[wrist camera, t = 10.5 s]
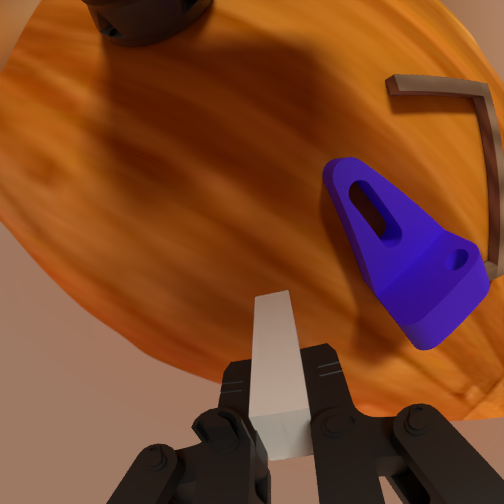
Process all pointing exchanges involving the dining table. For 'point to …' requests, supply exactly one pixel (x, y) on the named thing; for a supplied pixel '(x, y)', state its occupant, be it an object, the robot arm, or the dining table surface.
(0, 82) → the dining table surface
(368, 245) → the bracket
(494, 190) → the handle
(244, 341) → the dining table surface
